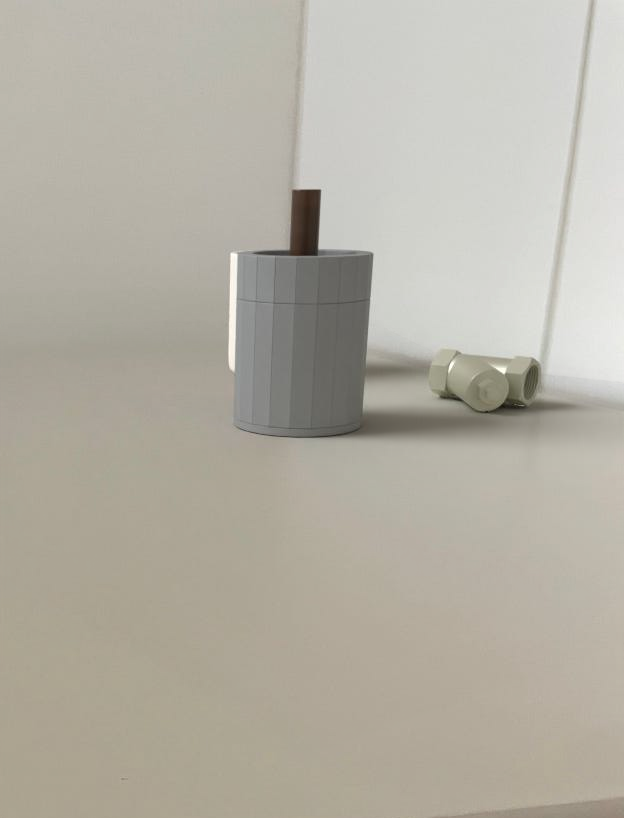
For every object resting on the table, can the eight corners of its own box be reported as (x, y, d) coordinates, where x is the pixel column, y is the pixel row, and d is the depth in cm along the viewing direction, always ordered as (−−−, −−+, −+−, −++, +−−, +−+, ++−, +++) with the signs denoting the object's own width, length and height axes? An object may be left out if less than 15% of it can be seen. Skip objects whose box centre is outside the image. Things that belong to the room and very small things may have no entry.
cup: (331, 408, 85) (340, 247, 80) (382, 432, 77) (396, 255, 72) (217, 414, 83) (220, 250, 78) (257, 440, 75) (263, 258, 70)
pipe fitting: (499, 422, 82) (538, 402, 86) (504, 370, 80) (543, 353, 84) (406, 409, 87) (447, 391, 91) (408, 360, 85) (450, 344, 89)
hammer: (298, 408, 82) (309, 189, 76) (334, 416, 79) (348, 188, 73) (258, 414, 80) (265, 189, 74) (293, 423, 77) (303, 189, 71)
